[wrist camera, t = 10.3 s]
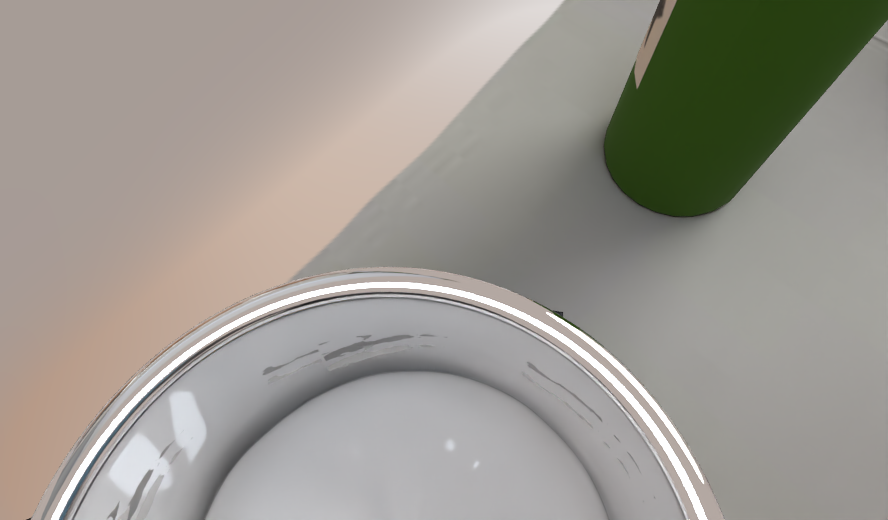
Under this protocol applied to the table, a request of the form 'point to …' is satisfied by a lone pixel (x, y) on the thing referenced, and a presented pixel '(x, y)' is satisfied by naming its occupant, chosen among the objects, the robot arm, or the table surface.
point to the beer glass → (382, 415)
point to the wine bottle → (725, 92)
